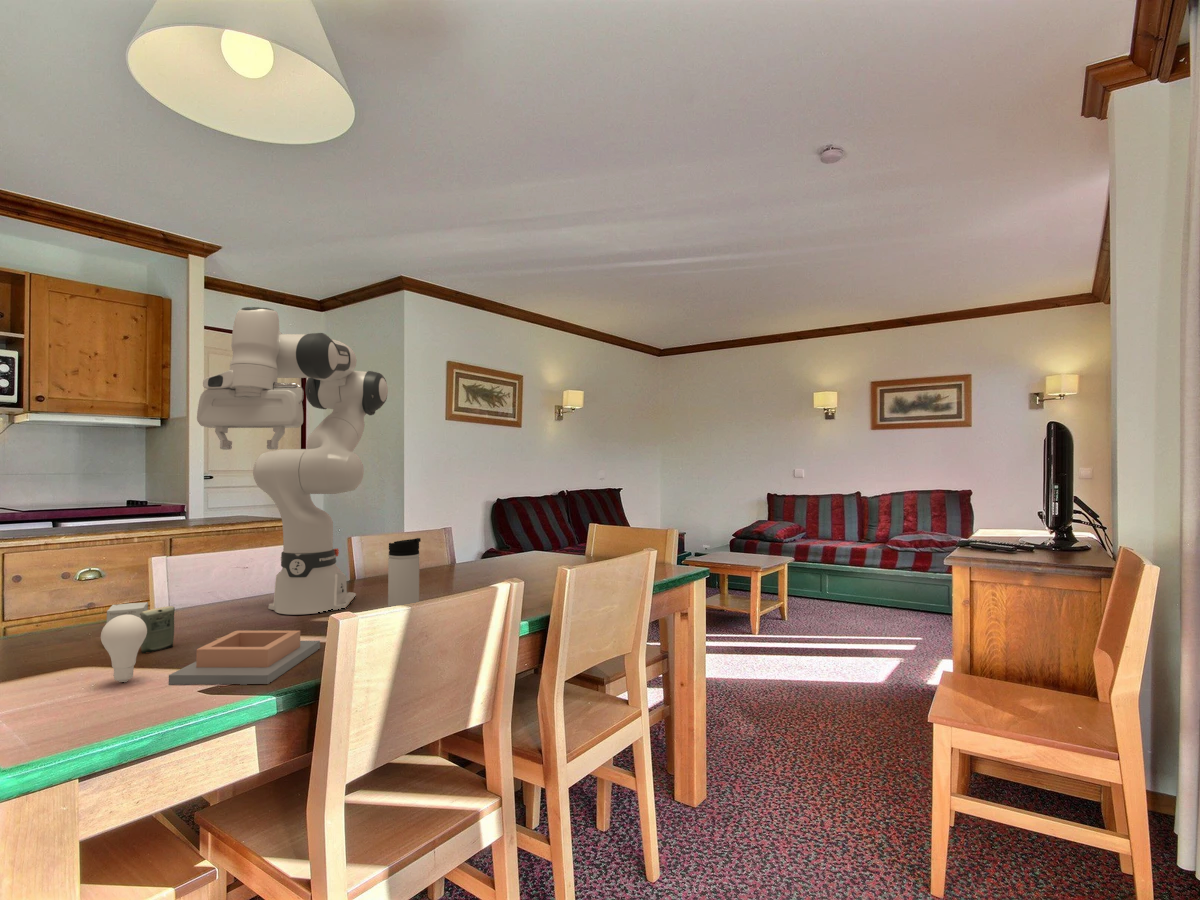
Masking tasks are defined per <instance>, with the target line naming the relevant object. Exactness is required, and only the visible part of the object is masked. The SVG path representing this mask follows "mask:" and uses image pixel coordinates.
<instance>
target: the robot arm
mask: <svg viewBox="0 0 1200 900" xmlns="http://www.w3.org/2000/svg"><path fill="white" fill-rule="evenodd" d="M232 327H233V328H232V333H231V345H230V346H231V350H232V358H231V361H230V363H229V370H226V371H223V372H221V373H220V372H219V373H218V374H214V375H211V376H207V377H205V378H204V379H203V381H202V386H203V388H204V389H206V390H203V392H202V393H201V394H200V397H199V400H198V404H197V411H196V414H197V415H196V420H197V423H198V424H199V425H200V426H201V427H204V428H209V429H214V432H215V434H216V436H217V438H218V440H219V441H220V442H219V448H220V450H223V451H224V450H226V451H227V450H229V451H231V450H232V449H233V448H232V445H233V441H232V440H229V439H228V438H227V435H226V434H228V431H229V429H237V428H238V429H241V428H242V429H269V428H270V429H272V431H273V432H275V433H274V434H273V436H272V437H271V439H267V440H266V444H267V445H266V449H267V450H270V451H266V452H263V453H261V454H259V456H258V457H257V458H256V460H255V462H254V464H253V468H252V477H253V479H254V482H255V484H256V485H257V487H258V488H259V489H260V490H262V491H263V492H264V493H265V494H266V495H268V496H269V497H270V498H271V500H272V502H274V503H275V505H276V507H277V509H278V512H279V514H280V518H281V523H282V524H281V525H282V538H283V539H282V540H283V541H282V543H283V547H282V549H283V550H282V552H281V554H280V555H281V556H280V566H281V570H280V571H279V572H278V573H276V575H275V583H274V584H275V585H274V594H273V602H272V603H269V604H268V610H272V611H274V612H275V613H278V614H280V615H294V616H295V615H310V614H319V613H318V612H320V613H324V612H323V611H326V612H329V611H328V610H331V609H333V610H331V611H338V609H339V610H342V609H341V608H345V607H346V606H347V605H348V604H349V602H350V601H351V600H352V599H353V598H354V597H355V596H356V597H357V593H355V592H351V591H347V589H348V587H347V583H348V582H347V575H346V574H345V573H344V572H343V571H342V570H341V569H340V568H339V567H338V566H337V564H336V563H337V558H336V557H339V555H340V551H339V548H333V547H334V538H333V537H334V522H333V521H334V520H333V518H332V516H331V515H330V514H328V512H326V511H325V510H323V509H321V508H319V507H317V506H316V505H315V504H314V502H313V500H312V496H311V495H338V494H344V493H348V492H352V491H355V490H357V488H359V486H360V484H361V482H362V481H363V478H364V472H365V471H364V465H363V462H362V460H361V458H360V457H359V455H357V453H355V452H353V451H355V449H356V447H357V446H358V444H359V442H360V441H361V439H362V436H363V434H364V430H365V416H366V415H369V416H373V415H375V414H376V411H378V410H380V409H381V408H382V406H383V405H384V404H385V403H386V402H387V398H388V392H389V389H388V383H387V380H386V378H385V377H384V375H383V374H382V373H380V372H378V371H373V370H368V371H365V370H364V371H363V370H355V368H356V366H357V355H356V353H355V352H354V350H353V349H352V348H351V347H350V346H349V345H347V344H345V343H344V342H342V341H339V340H336V339H334V338H333V339H332V338H331V337H329V336H328V335H327V334H326V333H323V332H314V333H294V334H293V333H288V334H287V333H282V332H281V331H280V320H279V314H278V312H277V311H276V310H274V309H272V308H268V307H261V306H260V307H259V306H248V307H247V306H246V307H242V308H239V309H238V311H237V313H236V315H235V317H234V322H233V326H232ZM304 378H305V379H306V382H305V387H304V388H305V389H303V387H302V386H301V385H299V384H298V383H297V382H278V379H304ZM304 391H305V397H306V400H307V402H308V403H309V404H310V405H311V407H313V408H316V409H321V410H327V409H328V410H332V411H331V413H330V414H328V415H327V416H326V417H325V418H323V420H321V422H320V423H319V424H318V425H317V426H316V427H315V428H314V430H312V432H311V433H310V434H309V436H308V437H307V441H306V448H282V449H278V448H279V442H280V441H281V439H282V437H283V436H284V435H285V429H287V428H288V429H289V428H290V429H293V428H294V429H299V428H300V427H301V426H302V425H303V423H304V409H303V408H304V406H303V400H304ZM356 597H355V598H356ZM345 609H346V608H345Z"/></svg>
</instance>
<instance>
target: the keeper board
mask: <svg viewBox="0 0 1200 900" xmlns="http://www.w3.org/2000/svg"><path fill="white" fill-rule="evenodd" d="M318 649H319V650H320V649H321V640H301V630H235V631H232V632H230V633H228V634H226V635H224V636H222V637H219V638H218V639H216V640H213V641H211V642H209V643H207V644H205V645H203V646H201V647H198V648H197V649H196V653H195V654H196V659H195V660H196V661H194V662H192V663H190V664H188V665H186V666H184V667H182V668H181V669H178V670H176V671H174V672H172V673H170V674H168V685H191V684H205V686H206V684H210V685H211V684H215V685H216V684H224V686H225V684H228V685H229V684H240V685H242V686H243V685H244V686H245V685H247V684H268V685H269V684H270V682H271V683H272V682H273V681H275V680H276V679H278V678H279V677H281V676H282V675H284V674H285V673H287V672H288V671H290V670H291V669H293V668H294V667H295V666H297V665H299V664H300V663H301V662H302V661H304V660H305V659H307V658H308V657H310V656H311V655H313V654H314V653H316V652H317V651H318ZM229 686H230V685H229Z"/></svg>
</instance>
